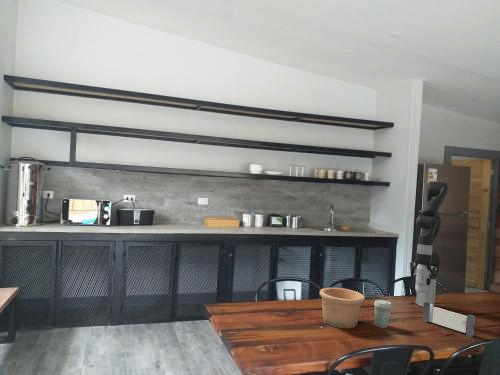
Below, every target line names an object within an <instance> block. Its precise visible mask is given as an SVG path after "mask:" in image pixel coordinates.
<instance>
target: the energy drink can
mask: <svg viewBox="0 0 500 375" xmlns="http://www.w3.org/2000/svg"><path fill="white" fill-rule="evenodd" d="M424 266H425V267H424ZM416 268H417V272H416V282H415V291H416V293H417V292H420V293H426V292H427V288H428V285H426V283H427V274H426V270H427V267H426V265H421V264H418V266H417V267H416ZM427 272H429V270H427Z"/></svg>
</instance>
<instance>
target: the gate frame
mask: <svg viewBox="0 0 500 375" xmlns="http://www.w3.org/2000/svg"><path fill="white" fill-rule="evenodd" d="M422 308H423V309H422V322H423V323H425V324H427V323H430V322H429V311H430V303H428V302H424V307H422ZM467 316H468V318H467V330H466V333H465V334H466V335H465V336H466V337H469V338H473V337H474V332H475V322H476V321H475V320H476V318H475V317H476V316H475V315H473V314H467Z"/></svg>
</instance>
